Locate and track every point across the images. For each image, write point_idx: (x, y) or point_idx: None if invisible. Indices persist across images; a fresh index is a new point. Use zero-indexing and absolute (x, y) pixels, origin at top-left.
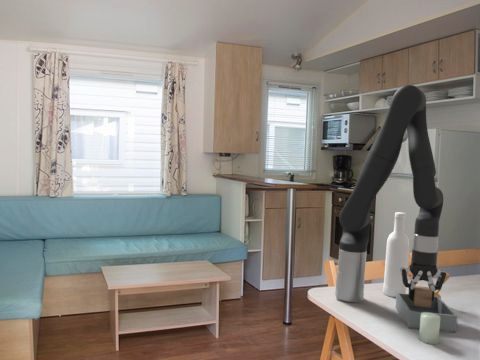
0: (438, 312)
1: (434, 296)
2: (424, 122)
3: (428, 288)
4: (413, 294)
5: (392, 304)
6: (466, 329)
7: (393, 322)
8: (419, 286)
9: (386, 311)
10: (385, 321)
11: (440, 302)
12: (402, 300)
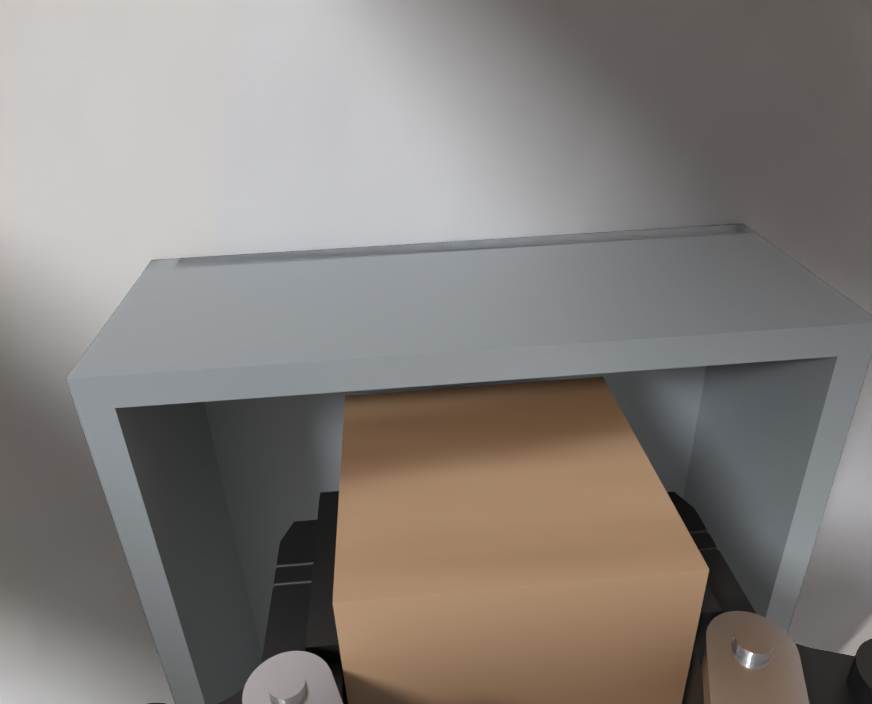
0: (710, 371)
1: (803, 343)
2: None
3: (681, 648)
4: None
5: (99, 117)
6: (799, 619)
7: (137, 680)
8: (517, 592)
9: (37, 439)
10: (59, 683)
11: (777, 507)
12: (177, 685)
